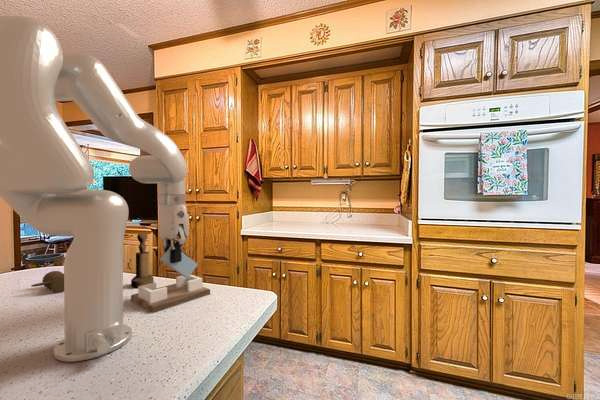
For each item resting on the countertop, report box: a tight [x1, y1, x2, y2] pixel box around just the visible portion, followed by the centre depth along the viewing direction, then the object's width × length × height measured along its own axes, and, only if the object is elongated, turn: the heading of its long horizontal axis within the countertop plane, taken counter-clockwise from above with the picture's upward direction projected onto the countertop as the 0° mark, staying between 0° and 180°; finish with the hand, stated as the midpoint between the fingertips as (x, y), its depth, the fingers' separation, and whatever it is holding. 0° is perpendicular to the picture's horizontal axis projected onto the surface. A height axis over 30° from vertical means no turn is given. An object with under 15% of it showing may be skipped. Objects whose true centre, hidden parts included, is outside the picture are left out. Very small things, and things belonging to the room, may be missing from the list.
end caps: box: [137, 274, 203, 303], centre depth 80 cm, size 8×16×3 cm, turn 143°
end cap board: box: [130, 282, 211, 313], centre depth 80 cm, size 14×17×2 cm
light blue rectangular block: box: [159, 246, 199, 278], centre depth 83 cm, size 3×10×5 cm
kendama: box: [30, 270, 64, 294], centre depth 90 cm, size 6×10×20 cm
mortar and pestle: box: [130, 232, 155, 289], centre depth 91 cm, size 7×6×18 cm
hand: (173, 260), depth 81 cm, fingers closed on light blue rectangular block, 2 cm apart
